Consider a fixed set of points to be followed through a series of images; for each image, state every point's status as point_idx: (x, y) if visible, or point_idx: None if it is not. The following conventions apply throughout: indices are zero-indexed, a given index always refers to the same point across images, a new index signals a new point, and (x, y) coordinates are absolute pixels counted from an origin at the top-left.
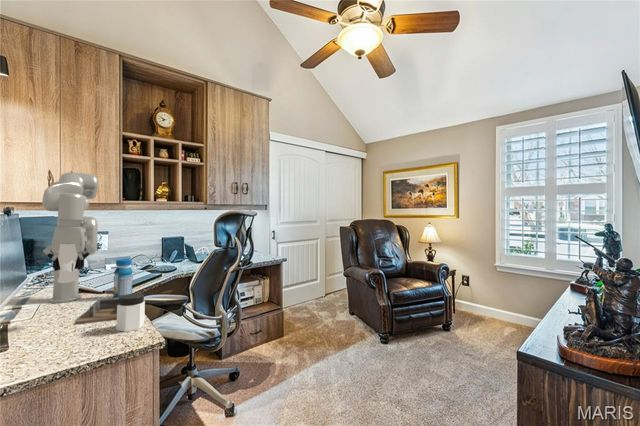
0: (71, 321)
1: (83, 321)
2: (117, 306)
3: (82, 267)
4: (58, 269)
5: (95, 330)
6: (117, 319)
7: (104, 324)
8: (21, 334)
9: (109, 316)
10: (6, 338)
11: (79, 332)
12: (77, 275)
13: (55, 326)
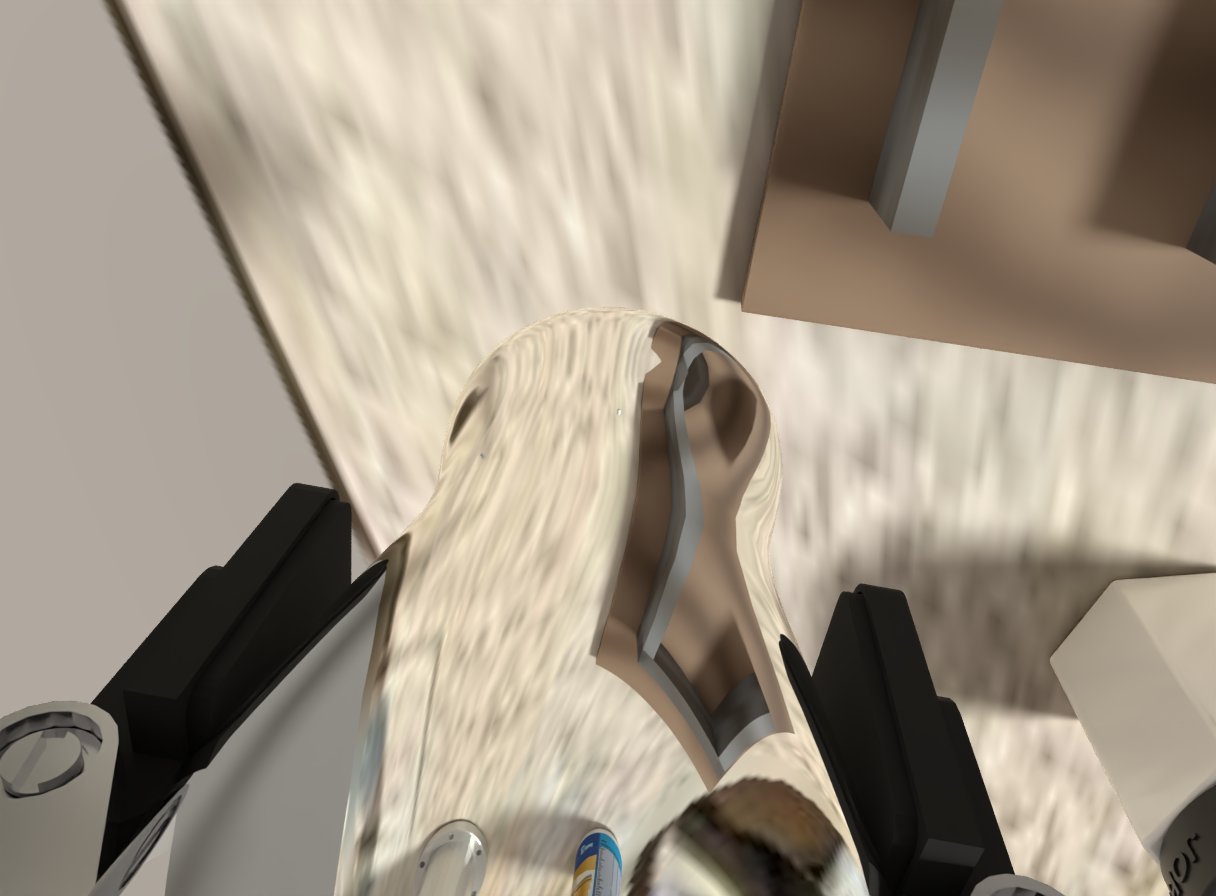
0: (695, 158)
1: (813, 320)
2: (1138, 837)
3: (901, 617)
4: (347, 579)
5: (903, 573)
6: (1088, 737)
7: (987, 450)
8: (369, 365)
9: (1069, 293)
10: (301, 412)
11: (790, 556)
12: (771, 527)
13: (576, 269)
